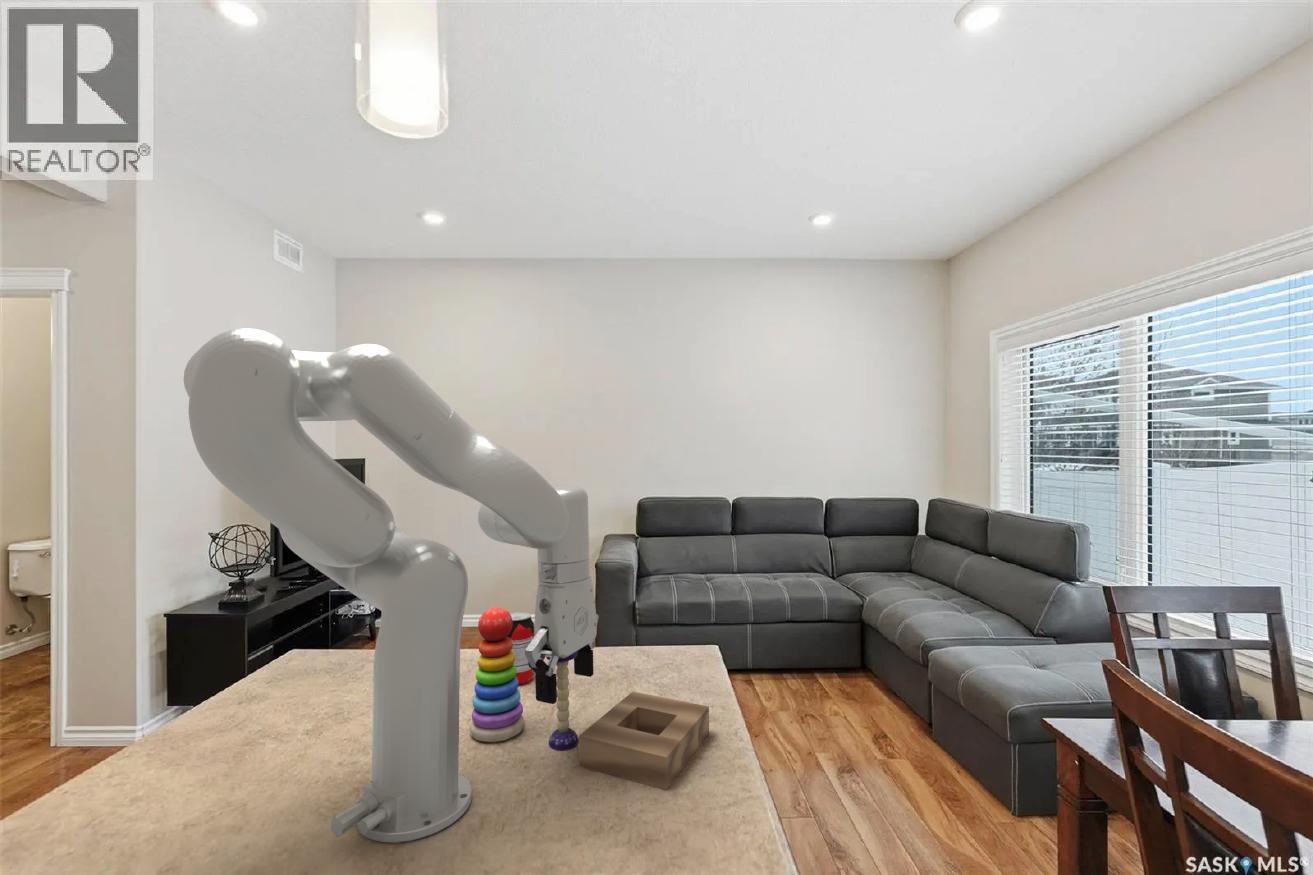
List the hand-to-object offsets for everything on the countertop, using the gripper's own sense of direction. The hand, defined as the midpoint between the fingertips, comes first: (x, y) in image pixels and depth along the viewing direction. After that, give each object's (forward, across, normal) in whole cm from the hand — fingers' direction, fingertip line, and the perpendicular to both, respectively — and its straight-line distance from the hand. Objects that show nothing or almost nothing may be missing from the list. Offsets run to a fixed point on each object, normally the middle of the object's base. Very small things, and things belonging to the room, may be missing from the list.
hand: (566, 687), depth 83 cm
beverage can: (+8, +15, +21) cm, 27 cm away
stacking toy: (+8, -2, +11) cm, 14 cm away
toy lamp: (+8, -1, 0) cm, 8 cm away
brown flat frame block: (+8, +3, -12) cm, 15 cm away
